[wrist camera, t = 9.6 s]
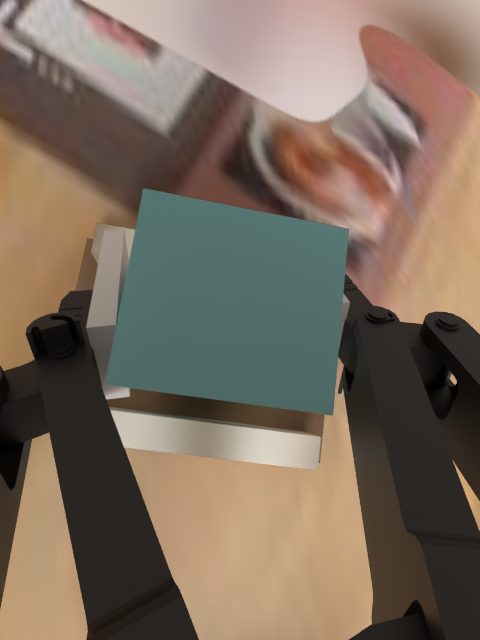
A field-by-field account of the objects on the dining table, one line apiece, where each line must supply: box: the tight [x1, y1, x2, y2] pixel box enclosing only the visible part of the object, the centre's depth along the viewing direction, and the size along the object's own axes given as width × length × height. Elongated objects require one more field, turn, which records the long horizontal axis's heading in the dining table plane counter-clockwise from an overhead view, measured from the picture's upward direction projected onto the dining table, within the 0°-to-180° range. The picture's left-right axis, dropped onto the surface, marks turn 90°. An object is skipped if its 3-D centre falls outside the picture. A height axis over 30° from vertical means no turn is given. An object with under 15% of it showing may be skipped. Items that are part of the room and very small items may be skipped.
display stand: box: [50, 223, 324, 470], centre depth 21 cm, size 14×10×4 cm
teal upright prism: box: [105, 188, 349, 415], centre depth 14 cm, size 5×4×11 cm
